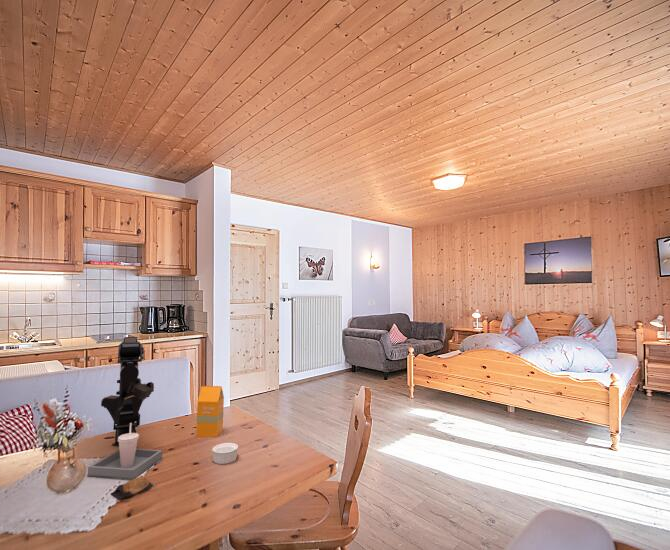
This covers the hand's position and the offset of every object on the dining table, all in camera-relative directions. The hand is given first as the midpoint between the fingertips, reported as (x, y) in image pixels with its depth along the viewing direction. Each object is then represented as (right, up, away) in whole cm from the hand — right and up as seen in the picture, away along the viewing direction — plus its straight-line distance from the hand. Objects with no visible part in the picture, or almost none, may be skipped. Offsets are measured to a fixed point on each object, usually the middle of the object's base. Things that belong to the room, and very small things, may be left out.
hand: (126, 419), depth 133 cm
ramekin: (+37, -14, -2) cm, 39 cm away
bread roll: (+16, -12, -24) cm, 31 cm away
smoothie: (+6, -12, -9) cm, 16 cm away
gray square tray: (+6, -12, -10) cm, 17 cm away
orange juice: (+23, -15, +22) cm, 35 cm away
